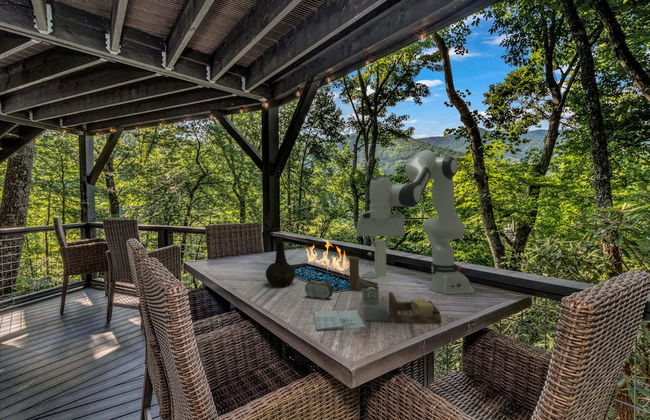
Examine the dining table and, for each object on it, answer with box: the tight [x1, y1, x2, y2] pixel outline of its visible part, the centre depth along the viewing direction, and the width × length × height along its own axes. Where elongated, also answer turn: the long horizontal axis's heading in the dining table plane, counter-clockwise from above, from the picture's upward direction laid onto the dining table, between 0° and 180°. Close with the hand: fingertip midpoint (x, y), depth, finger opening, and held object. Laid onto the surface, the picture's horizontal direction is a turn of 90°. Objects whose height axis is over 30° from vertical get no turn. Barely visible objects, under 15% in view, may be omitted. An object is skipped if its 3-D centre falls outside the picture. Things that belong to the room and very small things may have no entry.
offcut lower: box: [411, 307, 433, 315], centre depth 135 cm, size 6×9×3 cm, turn 0°
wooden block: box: [348, 256, 368, 292], centre depth 175 cm, size 9×4×18 cm, turn 75°
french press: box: [357, 251, 382, 308], centre depth 152 cm, size 10×12×25 cm
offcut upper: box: [410, 298, 435, 314], centre depth 135 cm, size 6×9×3 cm, turn 8°
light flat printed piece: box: [313, 309, 366, 332], centre depth 132 cm, size 19×20×2 cm
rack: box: [388, 291, 442, 324], centre depth 136 cm, size 18×17×8 cm
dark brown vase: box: [265, 237, 296, 287], centre depth 190 cm, size 18×18×28 cm
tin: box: [304, 280, 334, 300], centre depth 162 cm, size 15×3×8 cm, turn 65°
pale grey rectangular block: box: [374, 238, 387, 278], centre depth 135 cm, size 4×11×14 cm, turn 177°
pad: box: [363, 307, 391, 323], centre depth 137 cm, size 10×14×1 cm
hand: (380, 246), depth 135 cm, fingers closed on pale grey rectangular block, 3 cm apart
